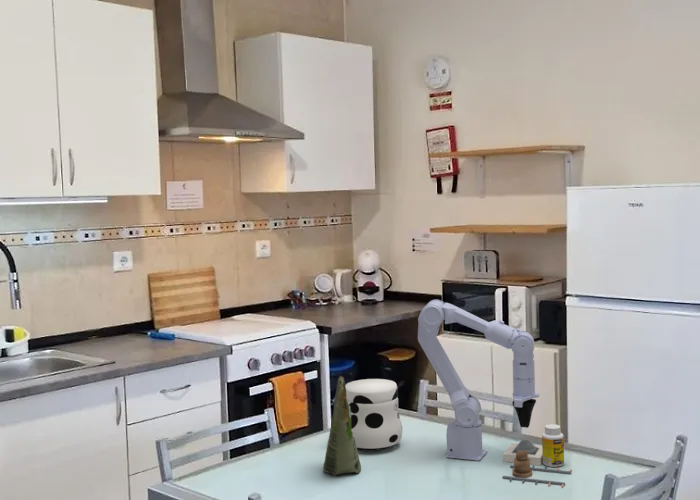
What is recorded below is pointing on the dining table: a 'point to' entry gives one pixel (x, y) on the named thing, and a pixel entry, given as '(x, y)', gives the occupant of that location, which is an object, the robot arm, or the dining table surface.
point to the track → (537, 479)
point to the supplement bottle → (553, 446)
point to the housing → (534, 459)
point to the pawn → (522, 465)
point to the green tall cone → (341, 437)
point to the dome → (526, 447)
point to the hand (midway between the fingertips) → (524, 426)
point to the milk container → (374, 413)
